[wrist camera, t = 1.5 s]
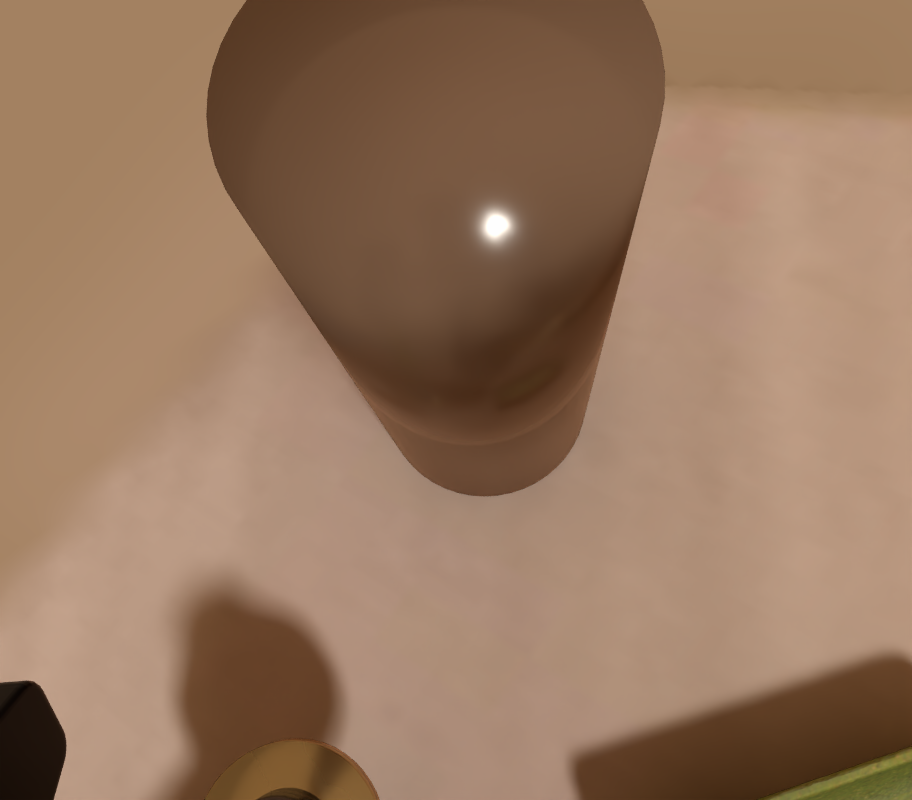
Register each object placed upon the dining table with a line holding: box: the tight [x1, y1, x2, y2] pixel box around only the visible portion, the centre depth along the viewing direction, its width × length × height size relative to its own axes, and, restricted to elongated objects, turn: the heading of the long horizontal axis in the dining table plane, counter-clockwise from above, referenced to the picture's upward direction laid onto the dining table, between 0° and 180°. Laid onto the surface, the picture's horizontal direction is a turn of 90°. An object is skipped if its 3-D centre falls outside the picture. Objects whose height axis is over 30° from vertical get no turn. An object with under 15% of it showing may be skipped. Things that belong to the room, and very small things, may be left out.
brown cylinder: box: [207, 0, 665, 496], centre depth 16 cm, size 6×6×13 cm
